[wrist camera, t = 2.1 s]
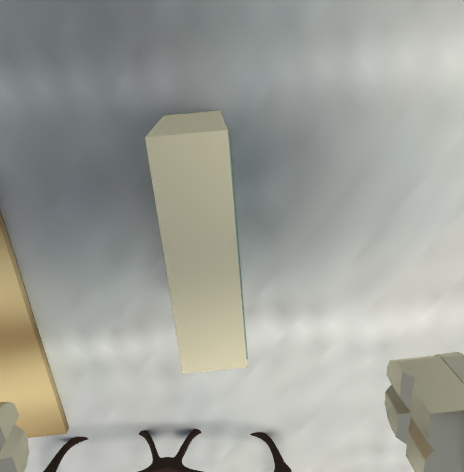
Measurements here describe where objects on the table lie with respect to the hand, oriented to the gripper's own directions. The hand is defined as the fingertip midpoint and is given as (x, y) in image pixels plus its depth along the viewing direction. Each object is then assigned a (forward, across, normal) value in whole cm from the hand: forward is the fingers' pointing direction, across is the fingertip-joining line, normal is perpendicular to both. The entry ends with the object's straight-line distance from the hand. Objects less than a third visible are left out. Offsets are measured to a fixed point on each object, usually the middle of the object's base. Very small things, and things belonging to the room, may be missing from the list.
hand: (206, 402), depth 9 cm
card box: (+12, 0, -1) cm, 12 cm away
